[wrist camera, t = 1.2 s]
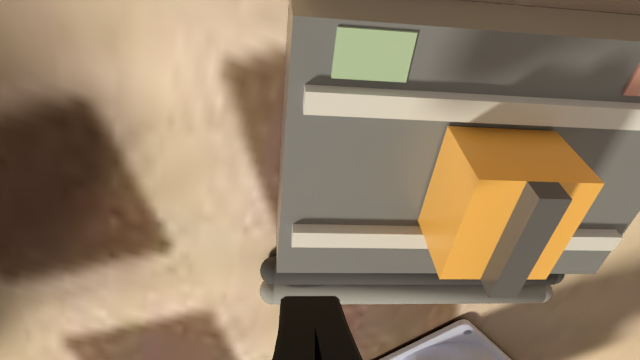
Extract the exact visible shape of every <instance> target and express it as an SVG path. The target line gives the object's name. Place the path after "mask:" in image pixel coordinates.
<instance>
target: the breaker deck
mask: <svg viewBox="0 0 640 360" xmlns="http://www.w3.org/2000/svg"><path fill="white" fill-rule="evenodd" d="M447 126H460V127H481V128H503V129H525V130H546V131H556V132H557V133H558V134H559V135H560V136H561V137H562V138H563V139H564V140H565V141H566V142H567V143H568V145H569V146H570V147H571V148H572V149H573V150H574V151H575V152H576V153H577V154H578V155H579V156H580V158H581V159H582V160H583V161H584V162H585V163H586V164H587V165H588V166H589V167H590V168H591V169H592V170H593V172H594V173H595V174H596V175H597V176H598V177H599V178H600V179H601V180H602V181H603V182H604V183H605V184H604V186H603V187H602V189H601V190H600V192H599V194H598V195H597V197H596V199H595V200H594V202H593V204H592V205H591V207H590V208H589V210H588V212H587V213H586V215H585V217H584V218H583V220H582V221H581V223H580V225H579V226H578V228H577V230H576V231H575V233H574V235H573V236H572V238H571V239H570V241H569V243H568V244H567V246H566V248H565V249H564V251H563V252H562V254H561V256H560V257H559V259H558V261H557V262H556V264H555V266H554V267H553V269H552V270H551V272H550V274H595V273H596V272H597V270H598V269H599V268H600V266H601V265H602V263H603V262H604V260H605V259H606V258H607V256H608V255H609V253H610V252H611V251H614V249H615V248H616V246H617V245H618V244H619V242H620V241H621V239H622V238H623V237H622V235H623V233H624V232H625V231H626V229H627V228H628V226H629V225H630V224H631V222H632V221H633V219H634V218H635V216H636V215H637V214H638V212H639V211H640V15H631V14H619V13H607V12H595V11H583V10H571V9H558V8H546V7H534V6H522V5H510V4H498V3H486V2H474V1H462V0H289V9H288V27H287V44H286V62H285V80H284V97H283V115H282V132H281V150H280V168H279V185H278V203H277V221H276V254H277V273H437V271H436V269H435V266H434V263H433V260H432V258H431V255H430V252H429V249H428V247H427V244H426V241H425V239H424V236H423V233H422V230H421V228H420V225H419V222H418V219H419V215H420V212H421V209H422V206H423V203H424V199H425V196H426V193H427V190H428V187H429V183H430V180H431V177H432V174H433V171H434V168H435V164H436V161H437V158H438V155H439V152H440V148H441V145H442V142H443V139H444V136H445V132H446V129H447Z"/></svg>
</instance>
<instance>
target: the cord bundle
mask: <svg viewBox="0 0 640 360" xmlns="http://www.w3.org/2000/svg"><path fill="white" fill-rule="evenodd" d="M260 273H261V276H262V278H263V280H264V282H263V283H262V284H261V287H260V296H261V298H262V299H263V301H265V302H266V303H268V304H273V305H279V304H280V303H281V299H282V298H283V297H285V296H336V297H337V298H339V300H340V304H470V303H544V302H547V301H548V300H549V299H550V298H551V296H552V287H551V285H554V284H557V283H559V282H561V281H562V279H563V278H564V275H565V274H549V275H548V277H547V279H527V280H526V282H525V283H524V285H523V287H522V289H521V290H520V292H519V294H518V296H517V297H516V298H488V295H487V293H486V291H485V289H484V287H483V284H482V282H481V280H480V279H439V277H438V274H437V273H277V256H273V257H269V258H267V259H266V260H265V261H264V262H263V263H262V265H261V269H260Z"/></svg>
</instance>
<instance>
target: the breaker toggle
mask: <svg viewBox="0 0 640 360" xmlns="http://www.w3.org/2000/svg"><path fill="white" fill-rule="evenodd" d="M604 184H605V183H604V182H603V181H602V180H601V179H600V178H599V177H598V176H597V175H596V174H595V173H594V172H593V170H592V169H591V168H590V167H589V166H588V165H587V164H586V163H585V162H584V161H583V160H582V159H581V158H580V156H579V155H578V154H577V153H576V152H575V151H574V150H573V149H572V148H571V147H570V146H569V145H568V143H567V142H566V141H565V140H564V139H563V138H562V137H561V136H560V135H559V134H558V133H557V132H556V131H546V130H525V129H503V128H481V127H460V126H447V129H446V132H445V136H444V139H443V142H442V145H441V148H440V152H439V155H438V158H437V161H436V164H435V168H434V171H433V174H432V177H431V180H430V183H429V187H428V190H427V193H426V196H425V199H424V203H423V206H422V209H421V212H420V215H419V219H418V222H419V225H420V228H421V230H422V233H423V236H424V239H425V241H426V244H427V247H428V249H429V252H430V255H431V258H432V260H433V263H434V266H435V269H436V271H437V274H438V277H439V279H480V280H481V282H482V284H483V287H484V289H485V291H486V293H487V295H488V298H516V297H517V296H518V294H519V292H520V290H521V289H522V287H523V285H524V283H525V282H526V280H527V279H547V277H548V275H549V274H550V272H551V270H552V269H553V267H554V266H555V264H556V262H557V261H558V259H559V257H560V256H561V254H562V252H563V251H564V249H565V248H566V246H567V244H568V243H569V241H570V239H571V238H572V236H573V235H574V233H575V231H576V230H577V228H578V226H579V225H580V223H581V221H582V220H583V218H584V217H585V215H586V213H587V212H588V210H589V208H590V207H591V205H592V204H593V202H594V200H595V199H596V197H597V195H598V194H599V192H600V190H601V189H602V187H603V186H604Z"/></svg>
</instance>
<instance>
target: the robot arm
mask: <svg viewBox="0 0 640 360" xmlns="http://www.w3.org/2000/svg"><path fill="white" fill-rule="evenodd" d="M272 360H363V359H362V357H361V355H360V353H359V350H358V348H357V346H356V343H355V341H354V339H353V336H352V334H351V331H350V329H349V326H348V324H347V321H346V318H345V316H344V313H343V310H342V307H341V304H340V300H339V298H337V297H336V296H285V297H283V298H282V299H281V303H280V316H279V330H278V336H277V341H276V346H275V351H274V355H273V359H272ZM379 360H512V359H510V358H509V357H508V356H507V355H506V354H505V353H504V352H503V351H502V350H501V349H499V348H498V347H497V346H496V345H495V344H494V343H493V342H492V341H491V340H490V339H488V338H487V337H486V336H485V335H484V334H483V333H482V332H481V331H480V330H478V329H477V328H476V327H475V326H474V325H473V324H472V323H471V322H470V321H468V320H465V319H462V320H459V321H456V322H454V323H452V324H450V325H448V326H446V327H444V328H442V329H440V330H438V331H436V332H434V333H432V334H430V335H428V336H426V337H424V338H422V339H420V340H418V341H416V342H414V343H412V344H410V345H408V346H406V347H404V348H402V349H400V350H398V351H396V352H394V353H392V354H389V355H387V356H385V357H383V358H381V359H379Z"/></svg>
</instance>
